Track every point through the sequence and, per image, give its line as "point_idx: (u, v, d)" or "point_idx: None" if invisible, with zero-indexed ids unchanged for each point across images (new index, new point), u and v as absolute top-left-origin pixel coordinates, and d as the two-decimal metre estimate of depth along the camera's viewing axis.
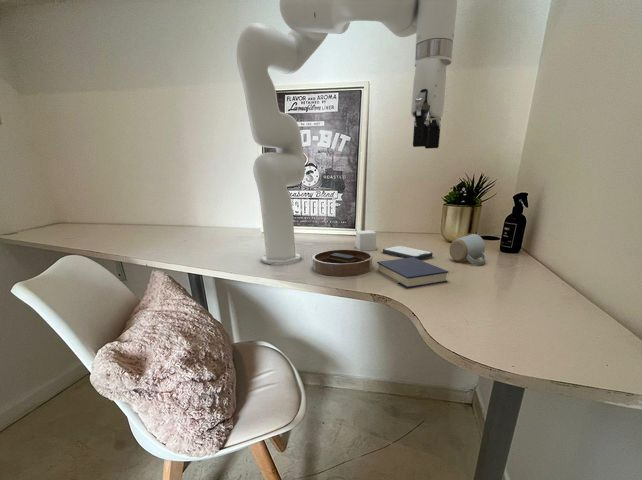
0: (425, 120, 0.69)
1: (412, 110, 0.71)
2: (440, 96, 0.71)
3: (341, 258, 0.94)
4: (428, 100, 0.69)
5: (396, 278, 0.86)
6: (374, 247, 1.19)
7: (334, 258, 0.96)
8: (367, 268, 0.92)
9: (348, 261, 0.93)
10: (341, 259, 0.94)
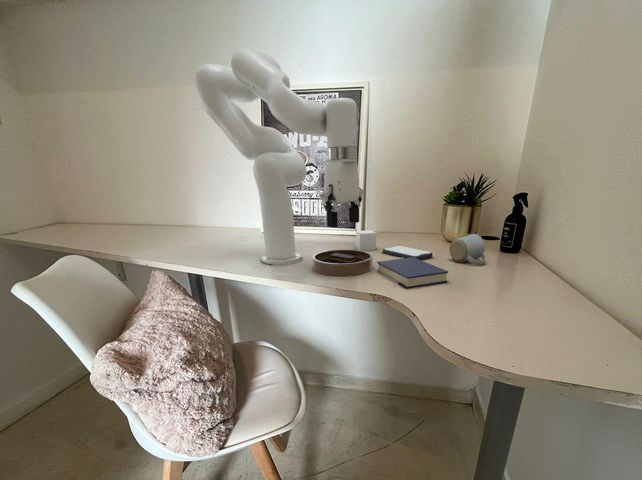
0: (332, 208, 0.85)
1: None
2: (348, 187, 0.86)
3: (341, 258, 0.94)
4: (334, 193, 0.84)
5: (396, 278, 0.86)
6: (374, 247, 1.19)
7: (334, 258, 0.96)
8: (367, 268, 0.92)
9: (348, 261, 0.93)
10: (341, 259, 0.94)
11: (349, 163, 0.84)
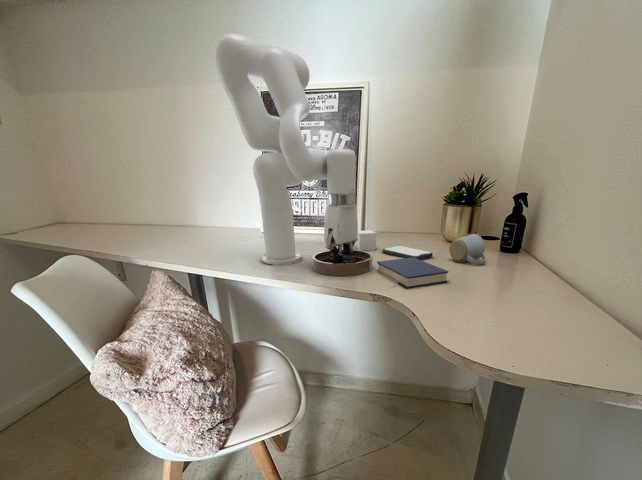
0: (338, 254, 0.92)
1: None
2: (347, 229, 0.91)
3: None
4: (333, 236, 0.89)
5: (396, 278, 0.86)
6: (374, 247, 1.19)
7: None
8: (367, 268, 0.92)
9: (348, 261, 0.93)
10: None
11: (348, 208, 0.89)
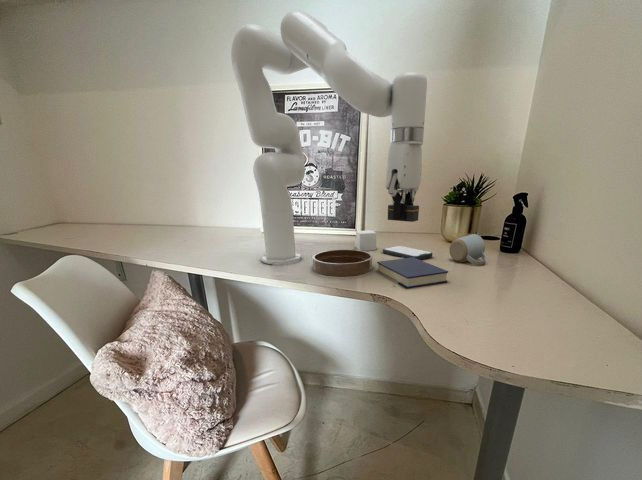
0: (401, 202, 0.80)
1: (386, 185, 0.80)
2: (412, 172, 0.79)
3: None
4: (398, 179, 0.77)
5: (396, 278, 0.86)
6: (374, 247, 1.19)
7: None
8: (367, 268, 0.92)
9: (412, 210, 0.81)
10: None
11: (415, 146, 0.77)
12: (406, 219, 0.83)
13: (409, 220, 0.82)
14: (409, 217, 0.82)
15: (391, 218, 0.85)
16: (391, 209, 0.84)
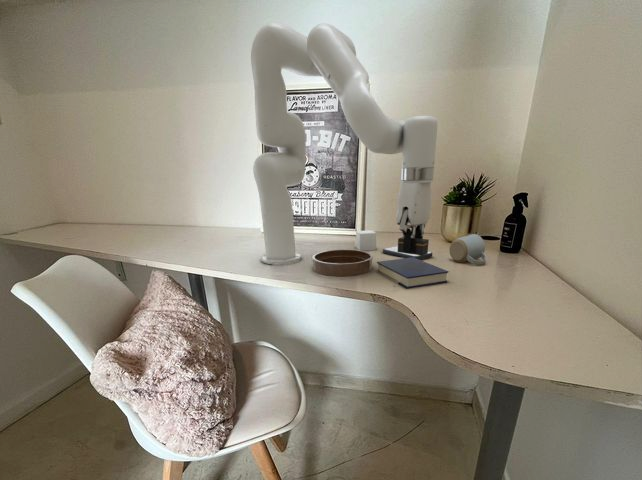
0: (411, 237, 0.83)
1: (396, 221, 0.82)
2: (422, 209, 0.81)
3: None
4: (409, 216, 0.79)
5: (396, 278, 0.86)
6: (374, 247, 1.19)
7: None
8: (367, 268, 0.92)
9: (422, 245, 0.83)
10: None
11: (425, 184, 0.79)
12: (416, 252, 0.85)
13: (419, 254, 0.85)
14: (419, 251, 0.84)
15: (401, 251, 0.87)
16: (401, 242, 0.87)
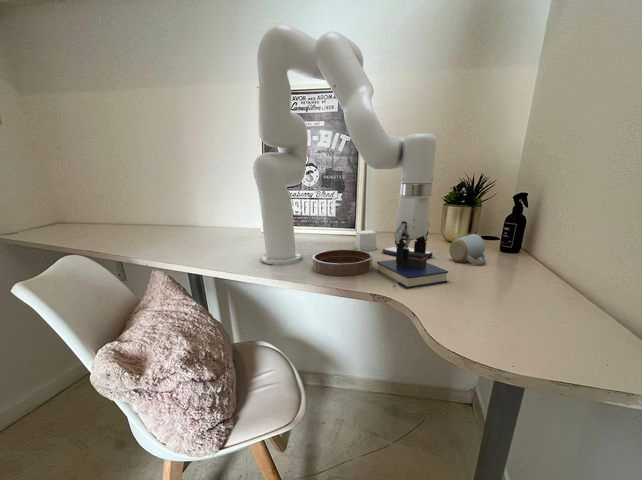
0: (404, 246, 0.81)
1: None
2: (421, 223, 0.82)
3: (412, 256, 0.86)
4: (407, 230, 0.81)
5: (396, 278, 0.86)
6: (374, 247, 1.19)
7: None
8: (367, 268, 0.92)
9: (420, 259, 0.85)
10: (411, 257, 0.86)
11: (424, 199, 0.80)
12: (415, 266, 0.86)
13: (417, 268, 0.86)
14: (418, 265, 0.86)
15: (400, 264, 0.89)
16: None
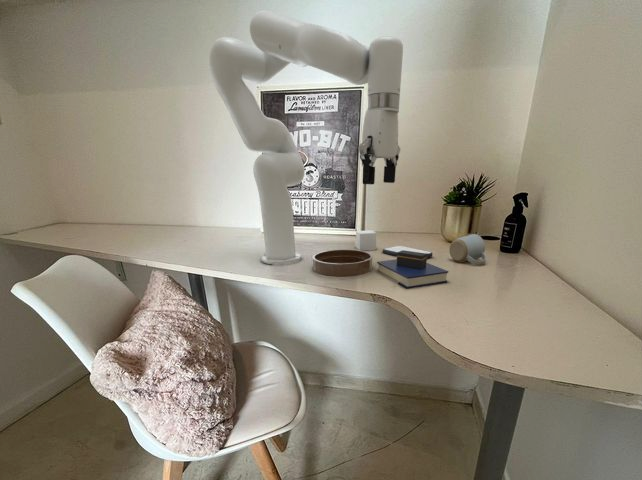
0: (370, 162, 0.79)
1: None
2: (388, 140, 0.80)
3: (412, 256, 0.86)
4: (373, 145, 0.78)
5: (396, 278, 0.86)
6: (374, 247, 1.19)
7: (403, 256, 0.88)
8: (367, 268, 0.92)
9: (420, 259, 0.85)
10: (411, 257, 0.86)
11: (391, 113, 0.77)
12: (415, 266, 0.86)
13: (417, 268, 0.86)
14: (418, 265, 0.86)
15: (400, 264, 0.89)
16: (400, 256, 0.88)
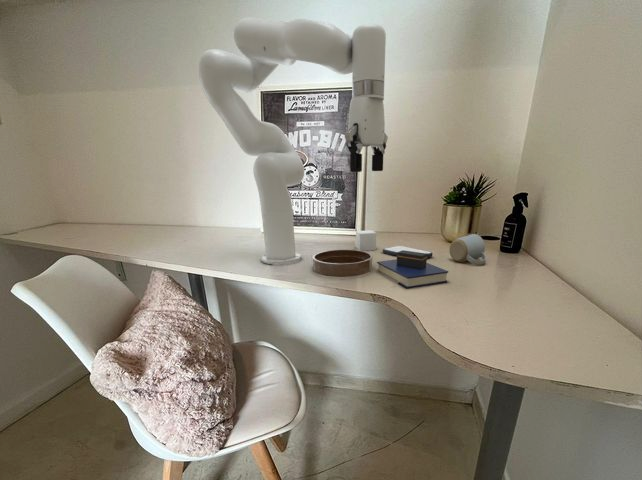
0: (356, 150, 0.79)
1: None
2: (374, 128, 0.80)
3: (412, 256, 0.86)
4: (359, 132, 0.79)
5: (396, 278, 0.86)
6: (374, 247, 1.19)
7: (403, 256, 0.88)
8: (367, 268, 0.92)
9: (420, 259, 0.85)
10: (411, 257, 0.86)
11: (376, 100, 0.78)
12: (415, 266, 0.86)
13: (417, 268, 0.86)
14: (418, 265, 0.86)
15: (400, 264, 0.89)
16: (400, 256, 0.88)
